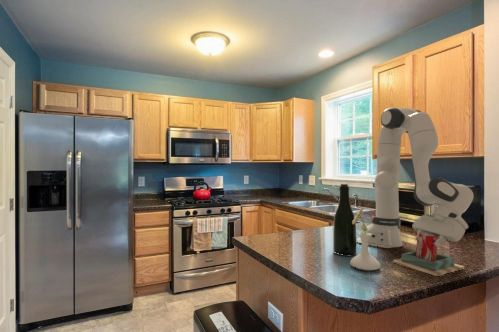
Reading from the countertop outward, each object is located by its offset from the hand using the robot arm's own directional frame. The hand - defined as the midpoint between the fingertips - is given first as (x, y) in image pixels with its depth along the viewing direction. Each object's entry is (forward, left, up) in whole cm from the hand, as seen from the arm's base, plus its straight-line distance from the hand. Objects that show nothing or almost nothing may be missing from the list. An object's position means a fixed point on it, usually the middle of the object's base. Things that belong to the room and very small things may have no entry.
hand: (425, 242), depth 117 cm
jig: (0, 0, -10) cm, 10 cm away
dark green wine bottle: (-33, +4, -10) cm, 34 cm away
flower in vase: (-23, -14, -10) cm, 28 cm away
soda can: (0, 0, -8) cm, 8 cm away
